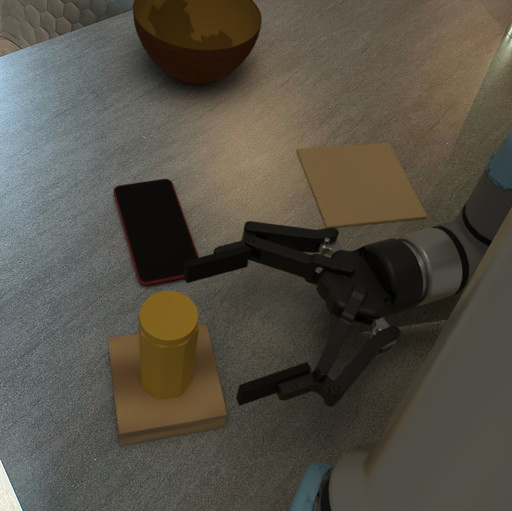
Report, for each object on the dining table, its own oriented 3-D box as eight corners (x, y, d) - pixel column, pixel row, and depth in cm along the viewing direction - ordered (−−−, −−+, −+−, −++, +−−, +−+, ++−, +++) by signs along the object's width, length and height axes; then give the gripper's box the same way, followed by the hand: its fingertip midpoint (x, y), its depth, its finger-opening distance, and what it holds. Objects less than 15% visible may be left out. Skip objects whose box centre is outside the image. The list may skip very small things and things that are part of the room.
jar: (195, 394, 59) (203, 335, 51) (144, 402, 58) (143, 344, 50) (186, 349, 62) (192, 287, 54) (137, 356, 61) (135, 294, 52)
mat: (426, 218, 82) (427, 216, 82) (326, 228, 79) (327, 226, 78) (388, 144, 90) (389, 142, 90) (296, 150, 86) (296, 148, 86)
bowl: (250, 117, 89) (260, 57, 81) (125, 102, 88) (123, 40, 80) (253, 45, 100) (262, -14, 92) (142, 30, 98) (141, -31, 91)
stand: (224, 427, 61) (233, 391, 55) (120, 446, 59) (116, 411, 52) (204, 338, 67) (210, 297, 60) (109, 352, 64) (104, 310, 58)
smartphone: (139, 284, 68) (111, 185, 76) (139, 289, 69) (112, 190, 77) (204, 271, 71) (170, 177, 79) (203, 276, 71) (170, 182, 79)
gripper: (457, 394, 61) (259, 472, 54) (339, 208, 74) (166, 251, 66) (491, 357, 55) (273, 439, 48) (355, 162, 68) (167, 204, 61)
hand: (210, 330), depth 57 cm, fingers open, 13 cm apart
